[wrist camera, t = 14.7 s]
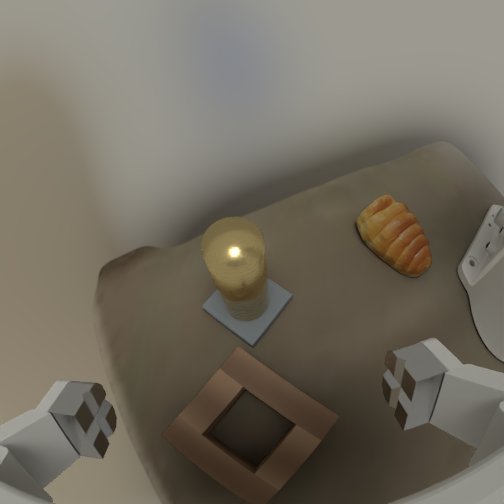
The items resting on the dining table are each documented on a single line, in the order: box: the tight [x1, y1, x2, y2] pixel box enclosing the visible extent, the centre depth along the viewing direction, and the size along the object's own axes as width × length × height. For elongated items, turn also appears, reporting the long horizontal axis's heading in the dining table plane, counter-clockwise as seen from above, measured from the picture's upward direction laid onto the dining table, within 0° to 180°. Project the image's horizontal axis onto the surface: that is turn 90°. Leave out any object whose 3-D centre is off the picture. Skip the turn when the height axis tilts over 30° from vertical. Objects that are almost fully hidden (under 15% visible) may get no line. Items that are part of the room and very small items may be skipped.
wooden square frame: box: [161, 346, 340, 504], centre depth 21 cm, size 10×10×3 cm
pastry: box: [356, 195, 432, 277], centre depth 29 cm, size 9×7×4 cm
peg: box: [201, 217, 269, 321], centre depth 23 cm, size 4×4×10 cm
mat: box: [202, 278, 293, 347], centre depth 28 cm, size 6×6×1 cm
